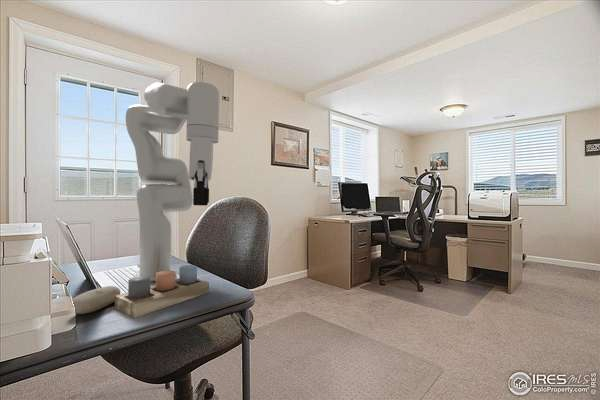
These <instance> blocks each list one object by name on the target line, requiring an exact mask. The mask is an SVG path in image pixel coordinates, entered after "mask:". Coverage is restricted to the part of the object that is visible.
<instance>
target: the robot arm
mask: <svg viewBox="0 0 600 400" xmlns="http://www.w3.org/2000/svg"><path fill="white" fill-rule="evenodd" d="M143 95H144V97H143V98H144V100H145V102H146V105H142V104H134V105H133V104H132V105H130V106H129V107H127V110H126V112H125V126H126V130H127V134H128V136H129V138H130V140H131V142H132V144H133V147H134V152H135V158H136V166H137V172H138V176H139V179H140V180H141V182H144V183H148V184H144V185H141V186H140V187H139V188H138V189H137V192H136V204H137V208H138V209H137V210H138V216H139V217H138V218H139V263H138V264H137V268H139V272H137V273H135V274H134V276H133V278H134V277H139V276H148V277H150V283H152V282H153V281H155V282H156V273H157V272H160V271H166V270H172V271H175V275H176V273H177V272H176V270H174V269H172V266H171V265H172V224H171V222H170V220H169V219H168V217H167V216H166V215H165V214H164V213H169V212H171V213H172V212H174V213H177V212H185V211H186V212H187V211H189V210H190V209H191V208H192V206H205V207H206V206H208V203H210V188H209V181H211V180H212V174H213V173H212V172H213V164H214V163H213V161H214V144H218V143H219V130H220V129H219V126H220V125H219V121H220V120H219V119H220V113H219V112H220V90H219V89H218V87H217V86H215V85H214V84H212V83H209V82H203V81H194V82H191V83H190V84H188V85H187V88H182V87H178V86H174V85H171V84H168V83H163V82H161V83H160V82H155V83H152V84H151V85H150V86H148V87H147V88H146V89H145V91H144V94H143ZM185 124H186V141H187V142H190V146H189V161H188V162H189V166H188V167H189V168H188V167H187V164H186V163H185V162H184V160H183V159H181V158H176V157H174V158H173V157H166V156H164V154H163V149H162V145H161V143H160V142H159V141H158V140H157V138H156V137H155V136H154V135H153V134H151V132H154V133H161V134H166V135H167V134H168V135H176V134H178V133H179V132H180V131H181V130H182V128H183V127H184V125H185ZM191 181H194V183H193V184H194V185H193V187H194V188H193V190H192V186H191ZM192 192H193V193H192ZM153 283H154V282H153Z"/></svg>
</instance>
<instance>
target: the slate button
mask: <svg viewBox="0 0 600 400" xmlns="http://www.w3.org/2000/svg"><path fill="white" fill-rule="evenodd" d="M178 272H179V277H178V279H179V282H180V283H184V284H187V283H193V282H196V281H197V279H198V266H197V265H196V264H195V265H194V264H193V265H192V264H191V265H190V264H188V265H181V266H179V271H178Z"/></svg>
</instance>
